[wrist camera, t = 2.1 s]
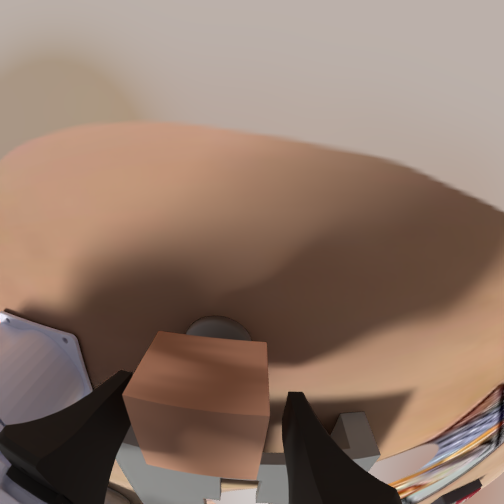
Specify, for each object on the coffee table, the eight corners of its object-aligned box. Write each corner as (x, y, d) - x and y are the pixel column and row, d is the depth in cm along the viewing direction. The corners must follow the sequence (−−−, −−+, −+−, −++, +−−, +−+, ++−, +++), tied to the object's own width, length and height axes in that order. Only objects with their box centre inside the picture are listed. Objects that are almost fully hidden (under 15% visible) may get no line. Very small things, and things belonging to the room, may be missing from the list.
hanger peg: (179, 371, 16) (146, 464, 9) (175, 303, 15) (122, 394, 8) (256, 379, 16) (256, 479, 9) (265, 311, 15) (270, 415, 8)
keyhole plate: (154, 475, 21) (145, 506, 17) (126, 394, 17) (104, 436, 13) (320, 487, 21) (325, 518, 17) (364, 411, 17) (380, 454, 13)
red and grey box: (455, 509, 28) (415, 528, 26) (450, 499, 32) (410, 516, 30) (484, 487, 25) (447, 508, 23) (477, 476, 29) (441, 495, 27)
